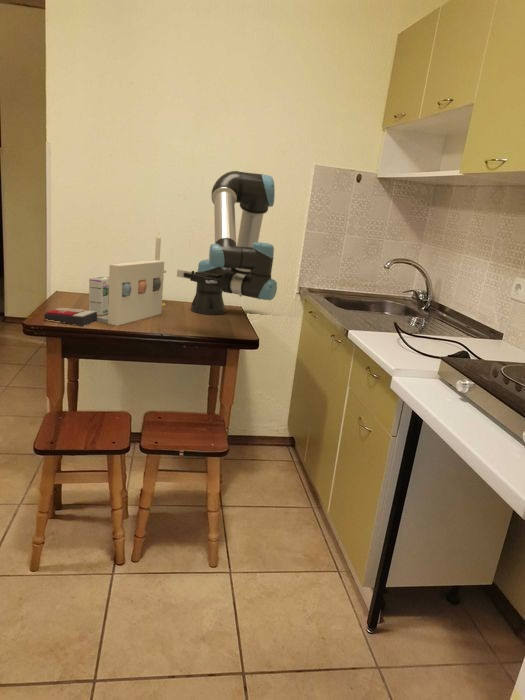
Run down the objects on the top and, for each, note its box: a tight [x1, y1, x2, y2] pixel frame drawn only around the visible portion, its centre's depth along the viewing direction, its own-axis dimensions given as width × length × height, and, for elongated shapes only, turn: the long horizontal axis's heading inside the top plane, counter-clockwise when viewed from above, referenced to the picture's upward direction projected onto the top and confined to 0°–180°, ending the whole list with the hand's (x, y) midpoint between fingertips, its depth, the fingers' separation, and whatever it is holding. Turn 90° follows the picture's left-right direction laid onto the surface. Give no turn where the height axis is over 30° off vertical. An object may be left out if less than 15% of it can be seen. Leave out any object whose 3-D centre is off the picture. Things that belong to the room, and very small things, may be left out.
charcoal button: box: [153, 278, 161, 290], centre depth 209 cm, size 4×4×4 cm
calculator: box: [44, 307, 98, 327], centre depth 189 cm, size 11×4×15 cm
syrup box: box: [88, 275, 109, 317], centre depth 203 cm, size 6×6×14 cm
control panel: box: [96, 259, 165, 327], centre depth 201 cm, size 30×9×22 cm, turn 158°
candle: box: [154, 232, 167, 307], centre depth 230 cm, size 10×10×32 cm
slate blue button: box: [122, 283, 131, 296], centre depth 191 cm, size 4×4×4 cm
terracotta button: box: [138, 281, 147, 293], centre depth 200 cm, size 4×4×4 cm
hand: (178, 272), depth 193 cm, fingers closed
